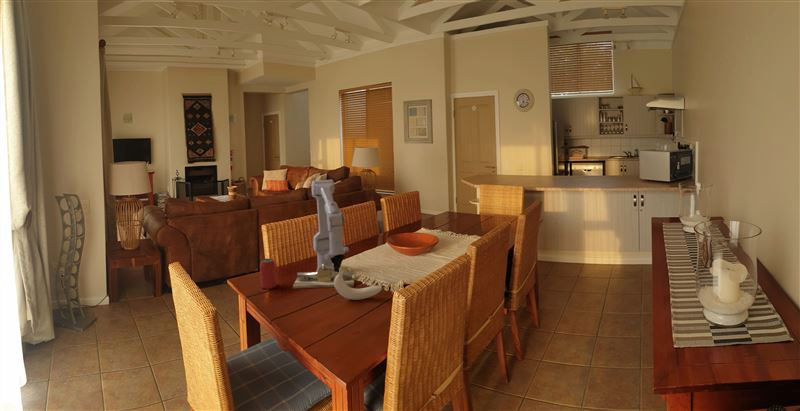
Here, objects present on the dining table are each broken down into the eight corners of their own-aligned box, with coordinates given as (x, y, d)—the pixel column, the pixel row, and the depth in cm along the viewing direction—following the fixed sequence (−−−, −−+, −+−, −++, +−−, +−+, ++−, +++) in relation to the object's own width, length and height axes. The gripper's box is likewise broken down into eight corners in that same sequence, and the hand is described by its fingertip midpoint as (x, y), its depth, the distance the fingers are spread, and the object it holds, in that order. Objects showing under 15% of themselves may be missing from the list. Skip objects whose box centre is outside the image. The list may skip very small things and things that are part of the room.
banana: (382, 300, 192) (381, 265, 189) (335, 303, 188) (333, 268, 186) (381, 295, 196) (380, 261, 194) (334, 299, 193) (333, 264, 190)
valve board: (298, 277, 220) (298, 275, 220) (355, 276, 221) (355, 273, 221) (293, 288, 206) (292, 285, 206) (353, 286, 207) (353, 284, 207)
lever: (320, 267, 212) (320, 264, 211) (324, 266, 214) (323, 262, 214) (344, 272, 205) (344, 268, 205) (347, 270, 207) (347, 267, 207)
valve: (299, 278, 215) (298, 266, 214) (352, 277, 216) (351, 264, 215) (297, 282, 210) (296, 269, 209) (351, 280, 211) (351, 268, 210)
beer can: (278, 284, 212) (277, 258, 209) (273, 289, 205) (271, 262, 203) (264, 283, 212) (262, 257, 210) (258, 289, 206) (256, 262, 204)
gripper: (333, 246, 196) (334, 277, 199) (353, 238, 208) (354, 268, 211) (319, 244, 200) (321, 275, 202) (340, 236, 212) (341, 266, 214)
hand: (337, 271), depth 207 cm, fingers closed, pressing on lever
